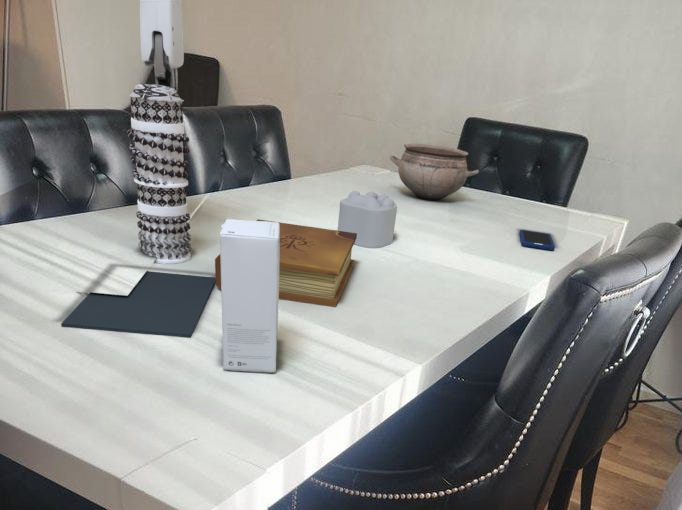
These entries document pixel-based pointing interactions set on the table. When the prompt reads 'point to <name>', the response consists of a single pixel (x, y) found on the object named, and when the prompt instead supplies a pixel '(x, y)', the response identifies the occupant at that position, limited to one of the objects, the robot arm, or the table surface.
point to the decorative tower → (160, 172)
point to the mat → (147, 306)
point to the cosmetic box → (250, 294)
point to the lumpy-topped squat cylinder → (368, 218)
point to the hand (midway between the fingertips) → (168, 118)
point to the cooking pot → (432, 170)
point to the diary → (310, 264)
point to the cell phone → (536, 240)
